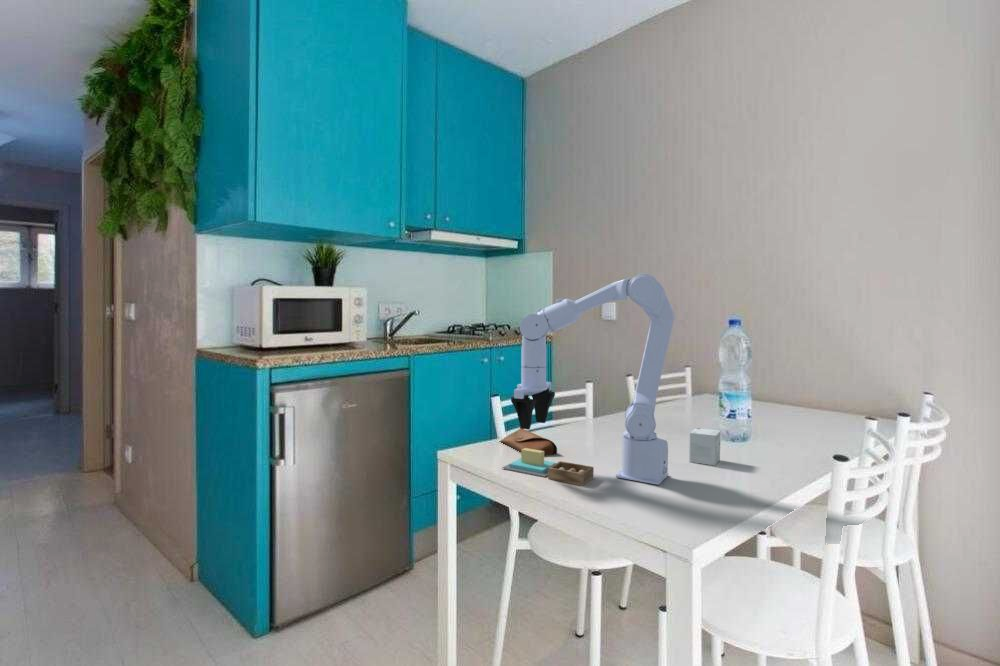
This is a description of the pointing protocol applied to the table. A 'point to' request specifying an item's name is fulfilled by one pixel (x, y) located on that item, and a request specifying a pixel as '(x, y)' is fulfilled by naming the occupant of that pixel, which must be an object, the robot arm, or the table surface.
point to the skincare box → (704, 446)
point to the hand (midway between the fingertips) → (533, 425)
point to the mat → (526, 471)
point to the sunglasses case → (529, 442)
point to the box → (570, 473)
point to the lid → (532, 461)
